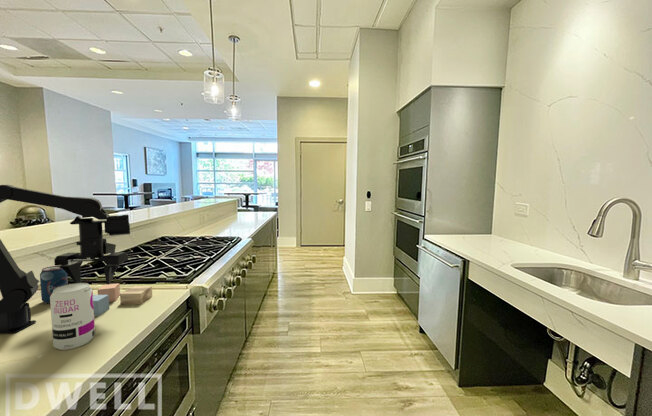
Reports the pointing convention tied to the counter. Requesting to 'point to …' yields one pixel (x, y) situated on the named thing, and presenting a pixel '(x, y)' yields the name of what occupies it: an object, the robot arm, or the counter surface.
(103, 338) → the counter surface
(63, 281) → the soda can
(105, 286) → the terracotta cube
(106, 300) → the slate cube
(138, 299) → the oak block
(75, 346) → the supplement can
